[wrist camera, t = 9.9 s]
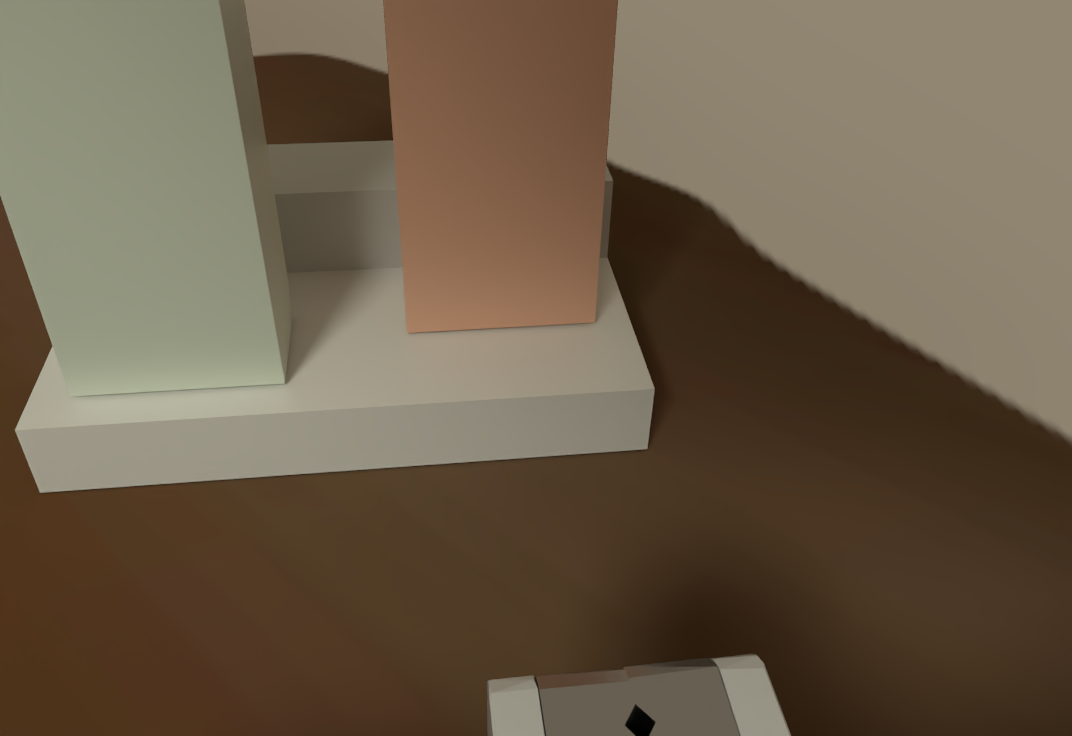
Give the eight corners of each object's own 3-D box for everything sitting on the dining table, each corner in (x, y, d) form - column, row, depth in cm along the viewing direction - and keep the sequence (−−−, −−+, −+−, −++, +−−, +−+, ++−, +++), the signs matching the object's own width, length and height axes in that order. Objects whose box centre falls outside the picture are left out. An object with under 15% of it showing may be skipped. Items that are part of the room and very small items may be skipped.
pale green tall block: (70, 396, 23) (-132, -183, 16) (100, 320, 26) (-61, -210, 18) (284, 383, 24) (187, -182, 16) (293, 310, 26) (212, -208, 19)
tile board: (39, 492, 23) (-21, 341, 21) (125, 274, 31) (89, 143, 29) (647, 449, 25) (665, 304, 22) (583, 251, 33) (590, 127, 30)
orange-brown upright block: (407, 332, 25) (369, -197, 18) (404, 269, 28) (369, -220, 21) (594, 322, 26) (631, -196, 19) (575, 260, 29) (601, -217, 21)
